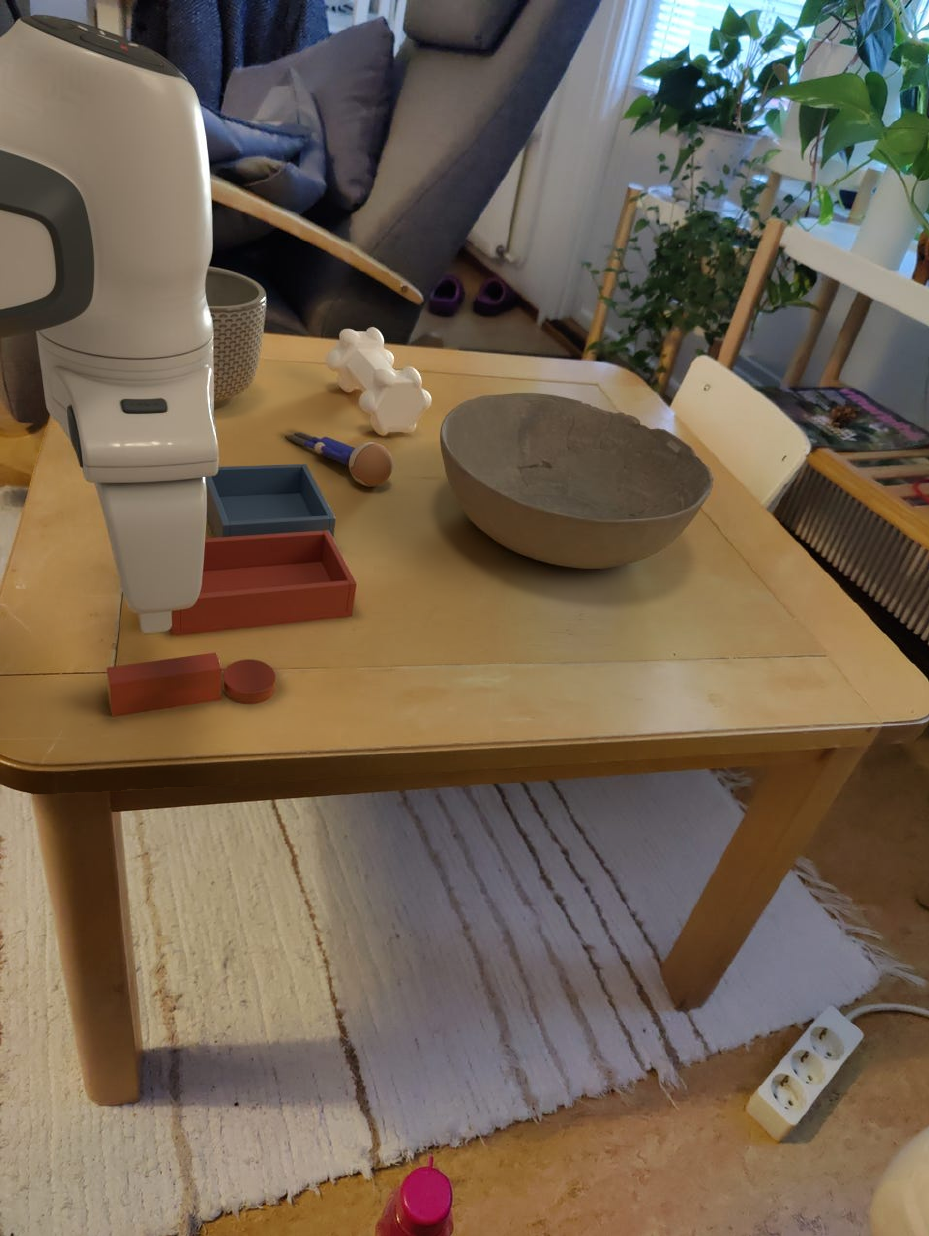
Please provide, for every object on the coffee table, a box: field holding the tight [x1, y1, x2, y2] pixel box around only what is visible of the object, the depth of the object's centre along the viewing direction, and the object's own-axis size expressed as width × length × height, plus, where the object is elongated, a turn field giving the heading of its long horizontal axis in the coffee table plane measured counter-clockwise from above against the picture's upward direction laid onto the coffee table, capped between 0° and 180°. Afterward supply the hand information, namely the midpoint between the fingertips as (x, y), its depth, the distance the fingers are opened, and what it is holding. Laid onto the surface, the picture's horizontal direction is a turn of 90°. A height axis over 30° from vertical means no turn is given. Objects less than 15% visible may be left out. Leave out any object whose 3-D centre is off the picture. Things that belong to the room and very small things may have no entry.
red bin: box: [170, 530, 357, 637], centre depth 73 cm, size 15×8×4 cm, turn 114°
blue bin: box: [205, 463, 337, 539], centre depth 82 cm, size 10×10×4 cm
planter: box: [205, 265, 268, 409], centre depth 98 cm, size 14×14×13 cm
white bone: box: [325, 326, 432, 437], centre depth 105 cm, size 15×9×8 cm, turn 26°
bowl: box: [439, 392, 714, 570], centre depth 90 cm, size 28×28×10 cm
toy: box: [284, 431, 394, 488], centre depth 95 cm, size 5×5×15 cm
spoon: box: [105, 652, 277, 718], centre depth 63 cm, size 12×4×3 cm, turn 115°
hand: (144, 580), depth 56 cm, fingers open, 8 cm apart
